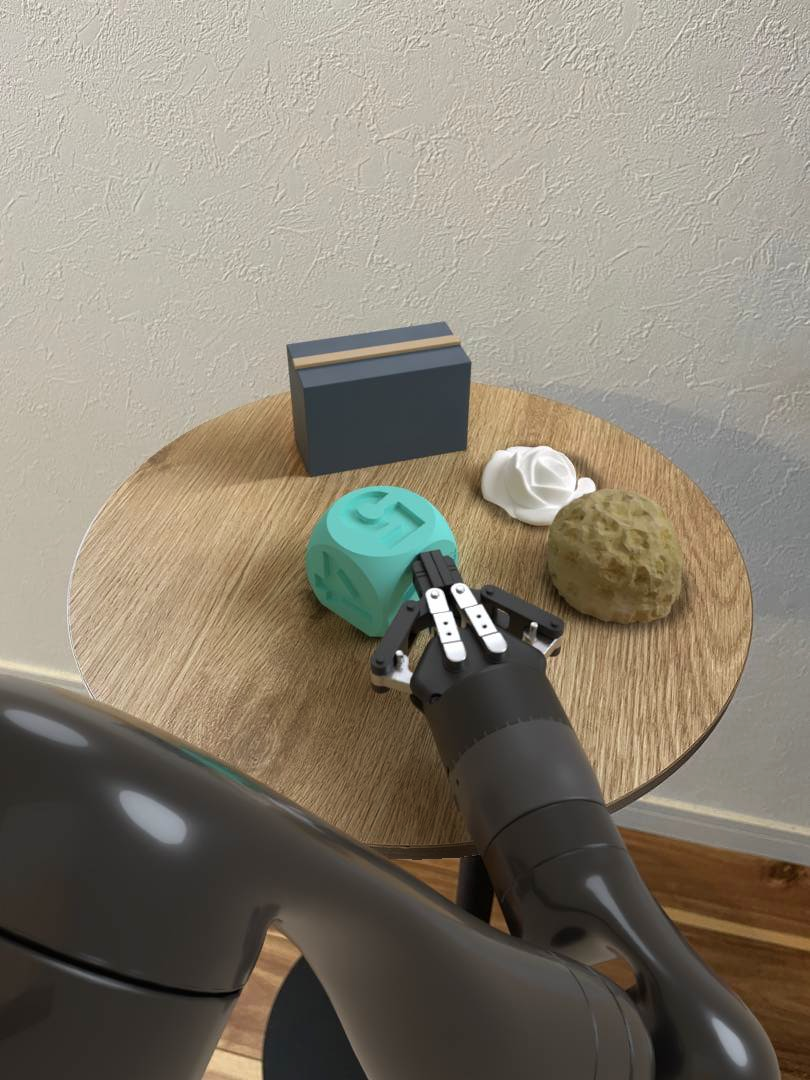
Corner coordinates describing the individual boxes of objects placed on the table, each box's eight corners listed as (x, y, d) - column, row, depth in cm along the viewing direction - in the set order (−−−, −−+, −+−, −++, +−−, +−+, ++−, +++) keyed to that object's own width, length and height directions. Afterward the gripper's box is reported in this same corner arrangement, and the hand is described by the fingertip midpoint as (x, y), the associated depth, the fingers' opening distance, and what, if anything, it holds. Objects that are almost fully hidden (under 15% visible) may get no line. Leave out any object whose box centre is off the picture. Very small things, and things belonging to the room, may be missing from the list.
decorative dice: (386, 657, 68) (384, 576, 63) (307, 603, 72) (299, 522, 67) (458, 597, 73) (462, 516, 67) (380, 550, 77) (378, 469, 71)
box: (310, 487, 83) (302, 385, 76) (294, 441, 88) (285, 340, 81) (467, 460, 86) (472, 358, 79) (442, 416, 91) (445, 317, 84)
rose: (466, 427, 82) (575, 412, 83) (464, 469, 85) (569, 454, 86) (502, 501, 74) (620, 483, 76) (498, 544, 77) (612, 526, 79)
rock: (586, 677, 72) (670, 629, 64) (497, 554, 73) (568, 492, 65) (660, 619, 77) (745, 568, 69) (575, 506, 79) (650, 443, 71)
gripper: (638, 700, 52) (523, 500, 64) (401, 755, 49) (329, 536, 62) (617, 780, 57) (515, 581, 69) (401, 833, 55) (335, 617, 67)
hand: (427, 560), depth 66 cm, fingers closed
